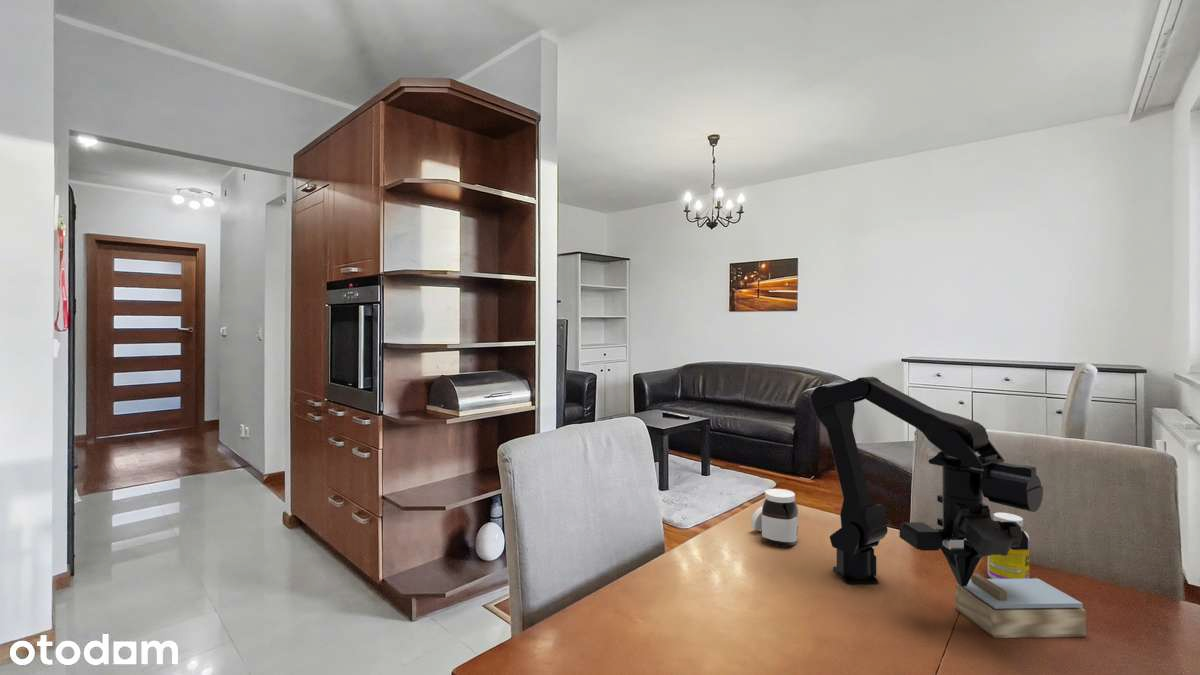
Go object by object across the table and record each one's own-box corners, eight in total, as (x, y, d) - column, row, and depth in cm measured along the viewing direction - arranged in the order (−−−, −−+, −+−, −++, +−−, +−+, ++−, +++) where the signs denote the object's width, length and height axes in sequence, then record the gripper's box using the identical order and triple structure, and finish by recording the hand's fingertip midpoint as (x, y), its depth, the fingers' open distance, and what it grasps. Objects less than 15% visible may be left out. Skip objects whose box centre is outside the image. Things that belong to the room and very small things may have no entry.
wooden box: (994, 637, 84) (994, 611, 84) (956, 608, 93) (955, 584, 93) (1085, 636, 85) (1085, 610, 84) (1038, 607, 94) (1038, 583, 93)
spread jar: (791, 552, 118) (791, 501, 118) (742, 541, 124) (742, 493, 124) (803, 534, 128) (803, 487, 128) (757, 525, 134) (757, 481, 134)
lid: (995, 608, 85) (995, 595, 85) (958, 583, 93) (958, 571, 93) (1082, 607, 85) (1082, 594, 85) (1037, 582, 93) (1037, 570, 93)
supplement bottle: (1032, 591, 99) (1032, 524, 99) (989, 582, 103) (989, 518, 103) (1026, 577, 105) (1026, 514, 105) (985, 569, 109) (985, 508, 108)
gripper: (939, 511, 81) (939, 610, 81) (1058, 510, 81) (1058, 609, 81) (897, 489, 92) (897, 577, 92) (1002, 488, 92) (1002, 576, 92)
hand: (962, 585), depth 89 cm, fingers closed
